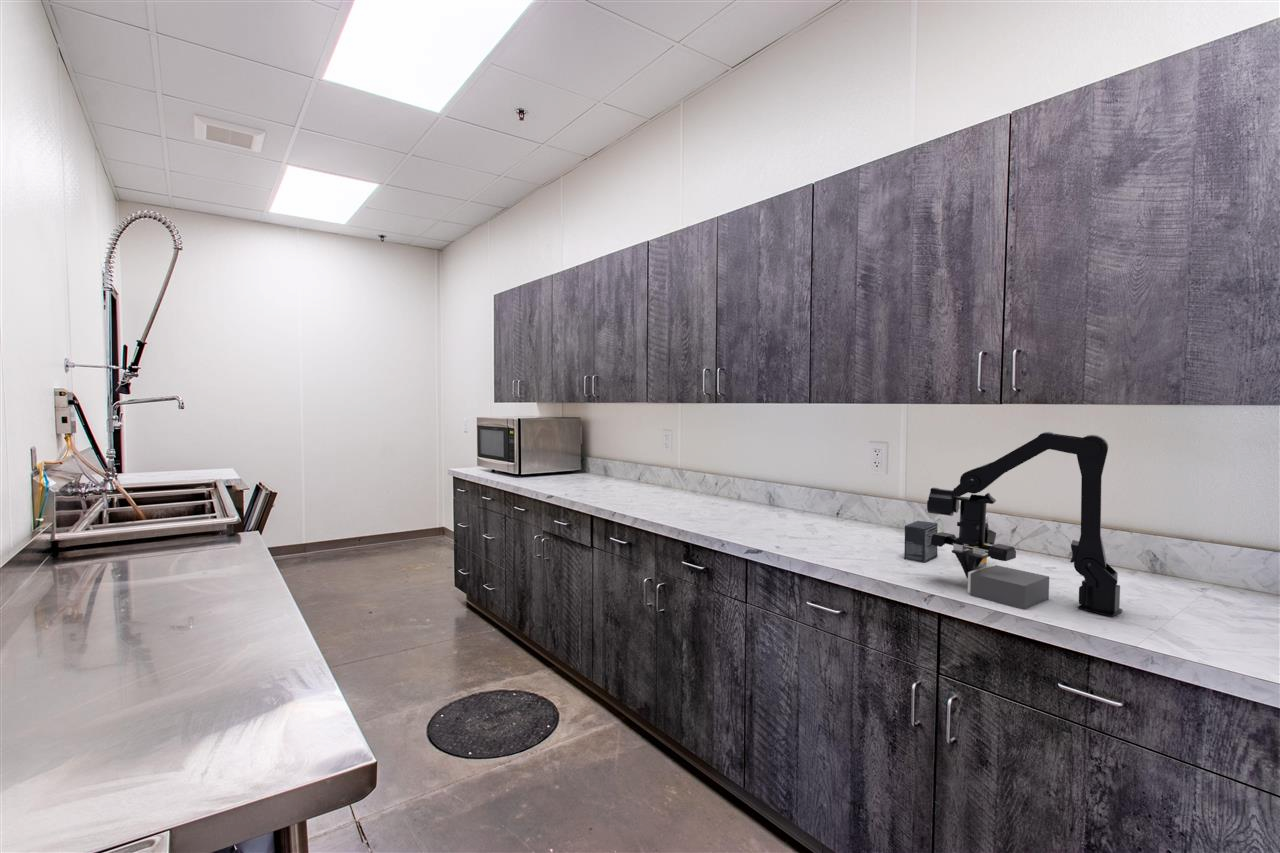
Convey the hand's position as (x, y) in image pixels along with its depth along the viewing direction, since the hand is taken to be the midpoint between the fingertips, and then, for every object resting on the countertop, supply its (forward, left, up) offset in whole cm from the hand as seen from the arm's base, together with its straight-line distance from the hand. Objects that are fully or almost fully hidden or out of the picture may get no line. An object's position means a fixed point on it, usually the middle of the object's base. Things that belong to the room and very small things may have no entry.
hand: (969, 578), depth 149 cm
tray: (-8, 0, -2) cm, 8 cm away
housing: (-9, 0, -2) cm, 9 cm away
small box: (+23, -17, -2) cm, 29 cm away
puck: (+3, -10, -2) cm, 11 cm away
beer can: (+11, -25, -2) cm, 27 cm away
